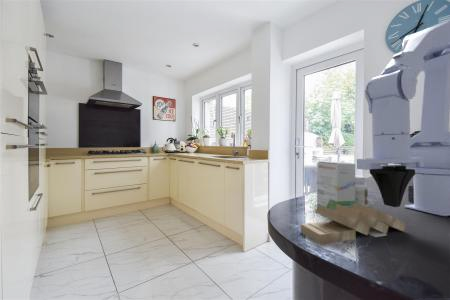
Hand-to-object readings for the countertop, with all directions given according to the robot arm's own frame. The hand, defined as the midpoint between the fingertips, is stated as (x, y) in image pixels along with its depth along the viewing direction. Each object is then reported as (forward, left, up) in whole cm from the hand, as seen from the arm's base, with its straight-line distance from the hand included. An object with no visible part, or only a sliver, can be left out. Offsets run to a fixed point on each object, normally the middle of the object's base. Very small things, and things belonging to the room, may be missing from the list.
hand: (391, 205), depth 40 cm
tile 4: (+12, 0, -3) cm, 12 cm away
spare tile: (+9, 0, -3) cm, 9 cm away
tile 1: (+1, 0, -3) cm, 3 cm away
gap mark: (+7, 0, -4) cm, 8 cm away
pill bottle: (-6, -13, -4) cm, 16 cm away
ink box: (0, -14, -4) cm, 15 cm away
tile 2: (+4, 0, -3) cm, 5 cm away
